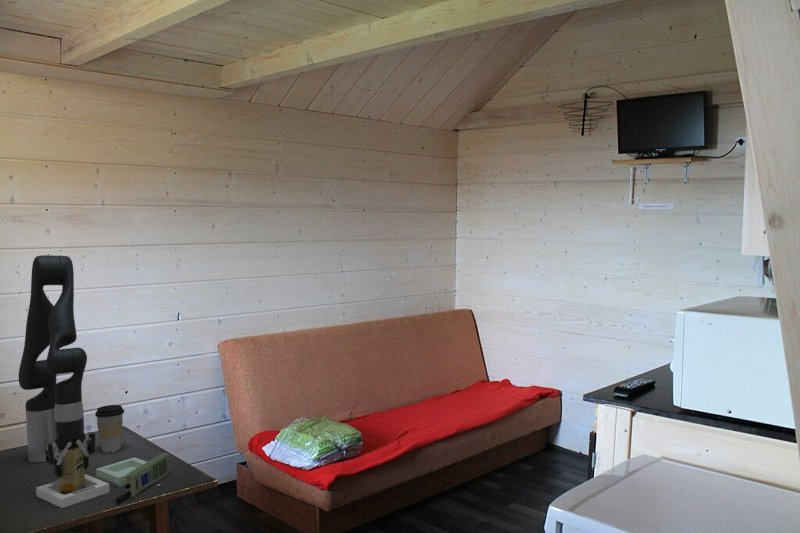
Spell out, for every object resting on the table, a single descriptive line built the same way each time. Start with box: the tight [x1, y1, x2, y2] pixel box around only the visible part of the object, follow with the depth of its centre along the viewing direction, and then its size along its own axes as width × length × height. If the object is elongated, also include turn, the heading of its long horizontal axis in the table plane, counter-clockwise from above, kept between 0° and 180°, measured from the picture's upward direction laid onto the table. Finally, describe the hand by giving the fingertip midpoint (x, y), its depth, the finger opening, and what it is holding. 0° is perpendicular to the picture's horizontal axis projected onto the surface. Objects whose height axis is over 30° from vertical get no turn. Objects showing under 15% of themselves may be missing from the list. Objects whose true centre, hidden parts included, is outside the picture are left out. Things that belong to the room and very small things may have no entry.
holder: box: [35, 473, 111, 509], centre depth 201 cm, size 15×14×3 cm
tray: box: [95, 457, 147, 488], centre depth 215 cm, size 13×13×3 cm
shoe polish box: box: [58, 447, 86, 492], centre depth 201 cm, size 5×5×12 cm
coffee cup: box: [94, 404, 125, 454], centre depth 240 cm, size 9×9×15 cm
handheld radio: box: [115, 452, 170, 504], centre depth 205 cm, size 7×3×25 cm
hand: (71, 472), depth 201 cm, fingers closed on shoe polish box, 7 cm apart
